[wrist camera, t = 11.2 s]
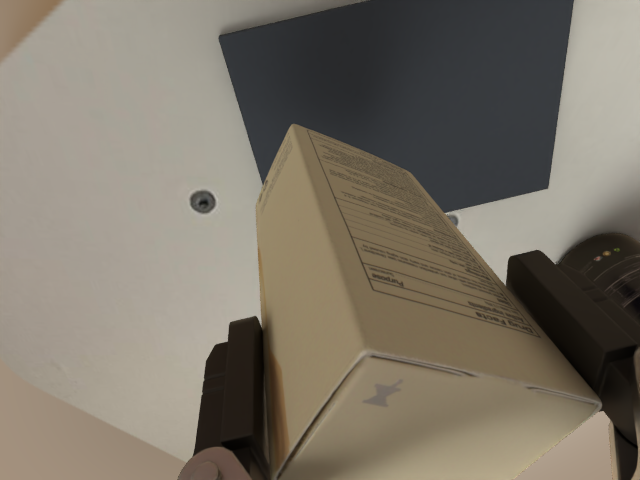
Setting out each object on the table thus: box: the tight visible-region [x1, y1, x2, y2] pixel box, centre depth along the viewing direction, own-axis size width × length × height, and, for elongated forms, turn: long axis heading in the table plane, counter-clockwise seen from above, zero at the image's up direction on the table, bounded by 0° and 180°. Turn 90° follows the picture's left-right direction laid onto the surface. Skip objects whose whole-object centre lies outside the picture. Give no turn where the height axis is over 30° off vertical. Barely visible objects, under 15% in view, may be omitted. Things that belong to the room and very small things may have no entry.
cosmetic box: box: [256, 124, 602, 480], centre depth 13 cm, size 6×4×12 cm
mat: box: [219, 0, 574, 213], centre depth 23 cm, size 18×13×1 cm
